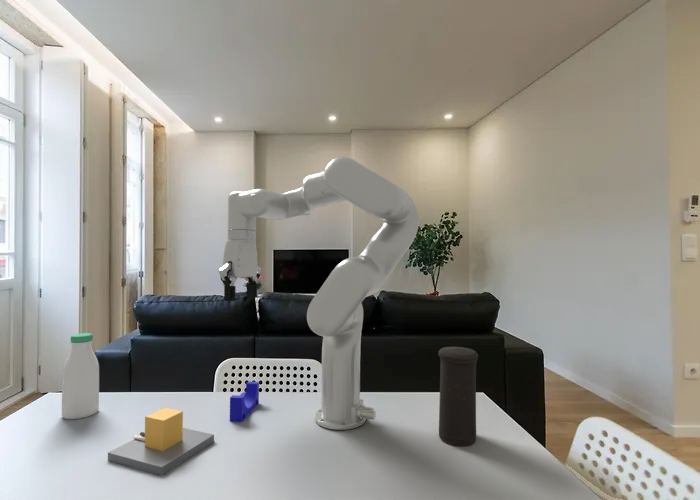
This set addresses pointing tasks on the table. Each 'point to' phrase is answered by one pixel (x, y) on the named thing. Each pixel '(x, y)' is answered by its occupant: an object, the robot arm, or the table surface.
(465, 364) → the container
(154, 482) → the table surface
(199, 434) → the plate
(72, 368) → the milk bottle
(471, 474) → the table surface
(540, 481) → the table surface
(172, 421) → the mustard yellow cube
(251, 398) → the blue arch bracket
